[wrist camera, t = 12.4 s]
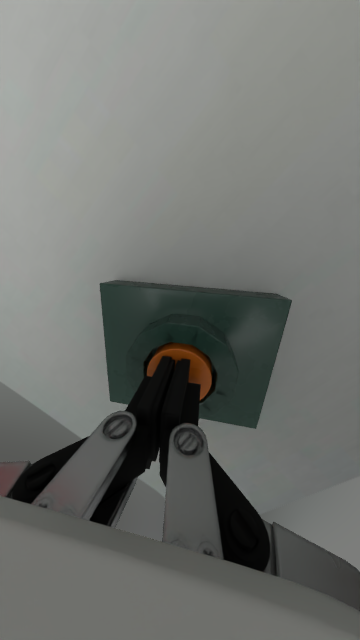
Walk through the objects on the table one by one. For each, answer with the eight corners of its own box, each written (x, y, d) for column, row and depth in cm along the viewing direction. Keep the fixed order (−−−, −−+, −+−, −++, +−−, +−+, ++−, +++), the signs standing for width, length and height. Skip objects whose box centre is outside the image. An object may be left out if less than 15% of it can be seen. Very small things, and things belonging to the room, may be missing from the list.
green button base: (278, 293, 12) (309, 308, 8) (250, 406, 15) (263, 453, 11) (116, 279, 13) (80, 286, 10) (122, 384, 17) (96, 419, 13)
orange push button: (215, 340, 11) (215, 354, 9) (207, 390, 12) (207, 410, 11) (155, 333, 12) (146, 344, 10) (154, 381, 13) (146, 399, 11)
